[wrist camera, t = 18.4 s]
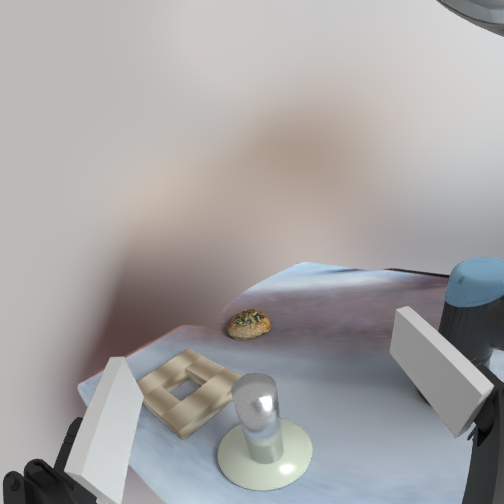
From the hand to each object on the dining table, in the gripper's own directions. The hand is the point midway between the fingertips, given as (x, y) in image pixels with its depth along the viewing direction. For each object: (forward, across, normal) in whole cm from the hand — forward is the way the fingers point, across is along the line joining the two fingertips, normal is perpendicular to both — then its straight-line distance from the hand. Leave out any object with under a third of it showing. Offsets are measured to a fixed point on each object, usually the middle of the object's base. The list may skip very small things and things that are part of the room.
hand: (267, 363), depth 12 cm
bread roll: (+48, 0, -30) cm, 57 cm away
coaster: (+12, -1, -30) cm, 32 cm away
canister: (+12, -1, -29) cm, 32 cm away
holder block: (+28, -14, -30) cm, 43 cm away
